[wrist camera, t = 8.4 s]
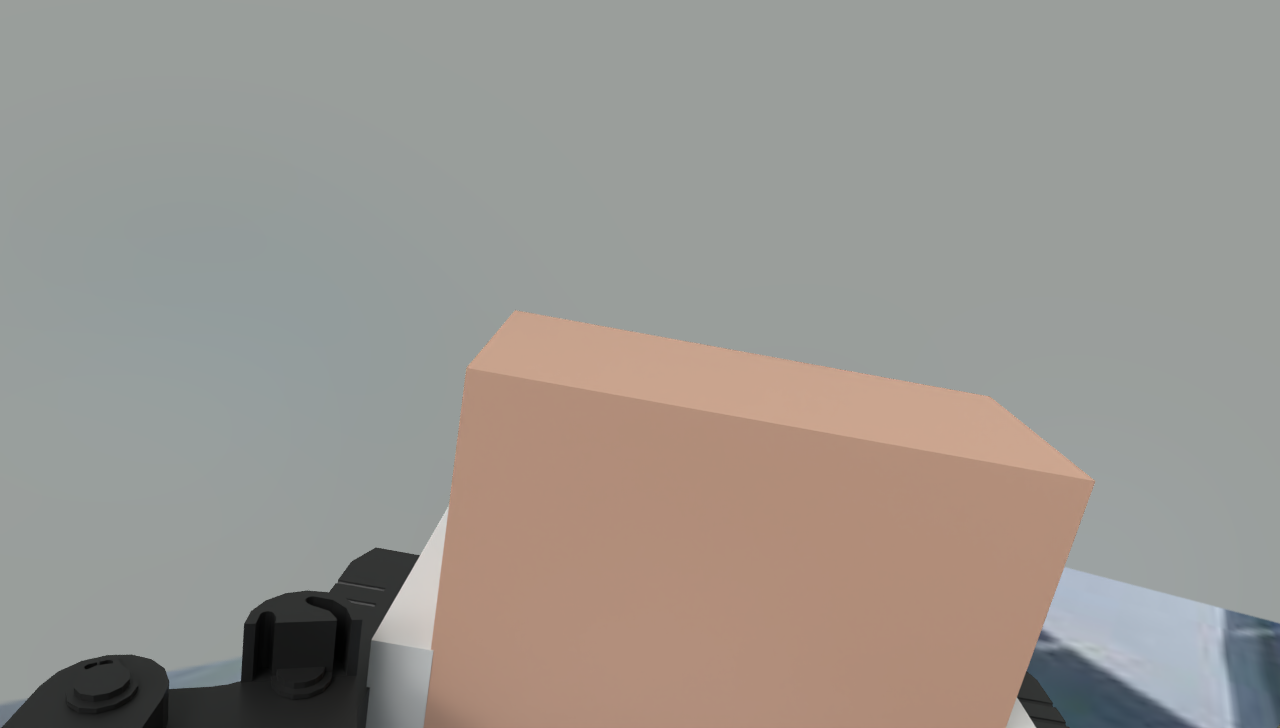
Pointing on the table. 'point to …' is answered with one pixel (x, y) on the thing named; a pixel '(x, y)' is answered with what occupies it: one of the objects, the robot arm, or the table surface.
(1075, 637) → the table surface
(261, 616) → the robot arm
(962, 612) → the salmon rectangular block
